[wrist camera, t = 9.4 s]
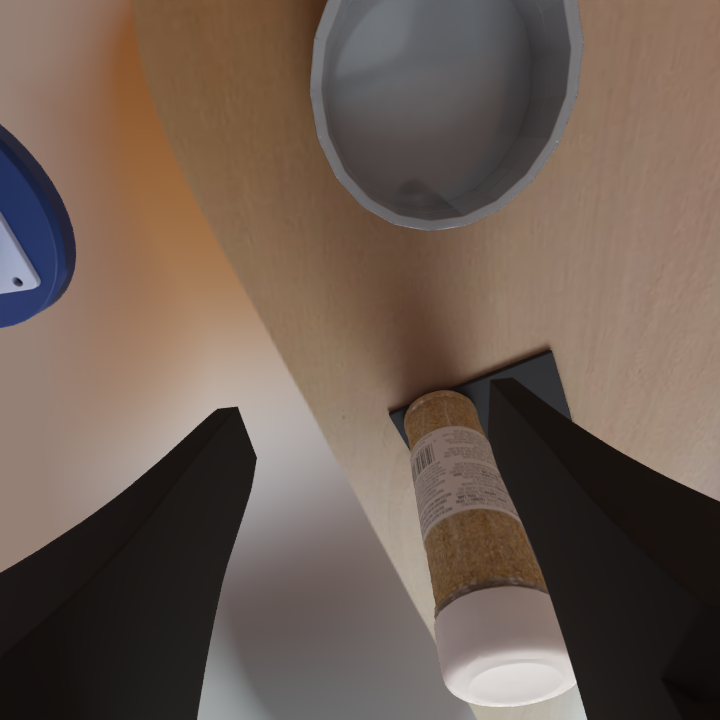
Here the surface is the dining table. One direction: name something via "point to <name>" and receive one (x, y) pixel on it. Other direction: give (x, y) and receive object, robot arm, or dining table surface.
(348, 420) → the dining table surface
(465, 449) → the sprinkles bottle
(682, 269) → the dining table surface
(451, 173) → the basin
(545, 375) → the mat
